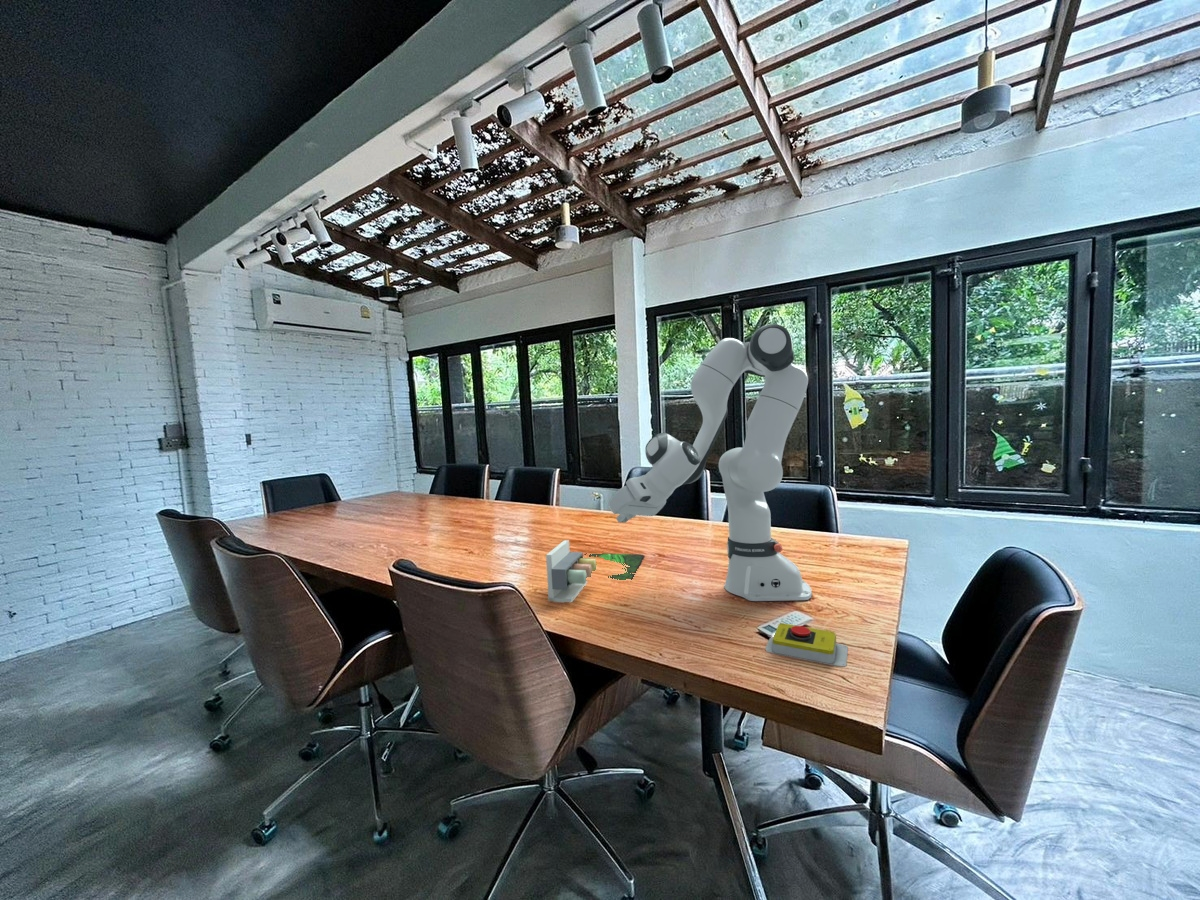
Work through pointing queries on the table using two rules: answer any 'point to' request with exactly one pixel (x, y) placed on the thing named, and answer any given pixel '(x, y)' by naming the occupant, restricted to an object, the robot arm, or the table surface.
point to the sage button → (576, 576)
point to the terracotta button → (583, 568)
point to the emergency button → (808, 645)
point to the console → (562, 573)
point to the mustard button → (588, 562)
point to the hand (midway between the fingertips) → (620, 520)
